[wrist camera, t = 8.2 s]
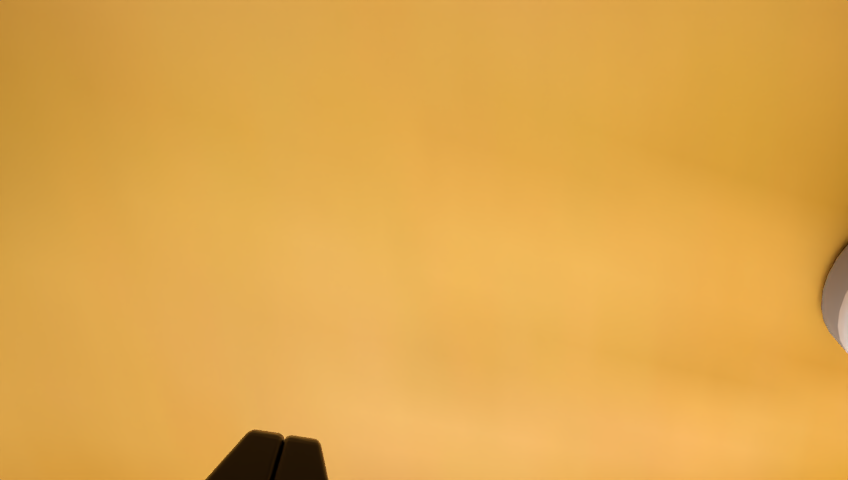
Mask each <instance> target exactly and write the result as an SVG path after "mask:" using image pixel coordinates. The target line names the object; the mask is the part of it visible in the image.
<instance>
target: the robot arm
mask: <svg viewBox="0 0 848 480" xmlns="http://www.w3.org/2000/svg"><path fill="white" fill-rule="evenodd" d="M206 480H328V476H327V472H326V467H325V462H324V457H323V453H322V448H321V445H320V443H319V441H318V440H316V439H312V438H306V437H299V436H293V435H291V436H288V437H286V439H285V440H284V437H283V436H282V435H281V434H279V433H274V432H268V431H261V430H252V431H250V432H248V433H247V434H246V435H245V436H244V437H243V438H242V439H241V440H240V442H239V443H238V444H237V445H236V446H235V447H234V448H233V449H232V451H231V452H230V453H229V454H228V455H227V456H226V457H225V458H224V459H223V461H222V462H221V463H220V464H219V465H218V466H217V467H216V468H215V470H214V471H213V472H212V473H211V474H210V475H209V476H208V477H207V479H206Z"/></svg>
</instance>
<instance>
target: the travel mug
mask: <svg viewBox="0 0 848 480" xmlns="http://www.w3.org/2000/svg"><path fill="white" fill-rule="evenodd" d="M821 308H822V314H823V320H824V322H825V324H826V326H827V328H828V330H829V332H830V333H831V335H832V336H833V337H834V338H835V339H836V340H837V342H838V343H839V344H840V345H841V346H842V347H843V349H844V350H845V351H846V352H847V353H848V245H847V246H846V247H845V249H844V250H843V251H842V252H841V254H840V255H839V256H838V258H837V259H836V261H835V263H834V264H833V266H832V268H831V270H830V272H829V273H828V276H827V279H826V282H825V285H824V288H823V295H822V306H821Z"/></svg>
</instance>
